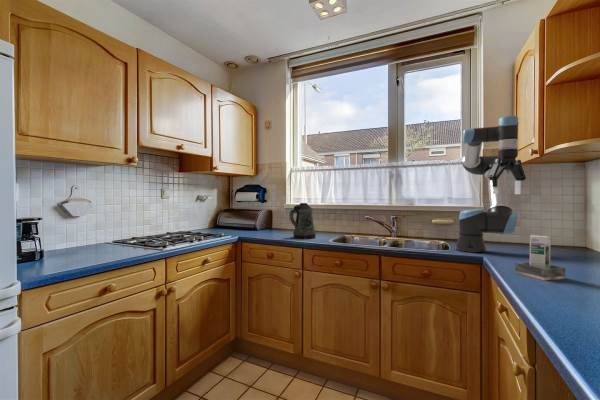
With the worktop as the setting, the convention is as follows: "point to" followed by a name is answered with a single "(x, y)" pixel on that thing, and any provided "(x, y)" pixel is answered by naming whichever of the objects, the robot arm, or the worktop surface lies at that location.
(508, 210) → the robot arm
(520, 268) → the frame
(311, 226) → the black handled container
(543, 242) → the syrup box
